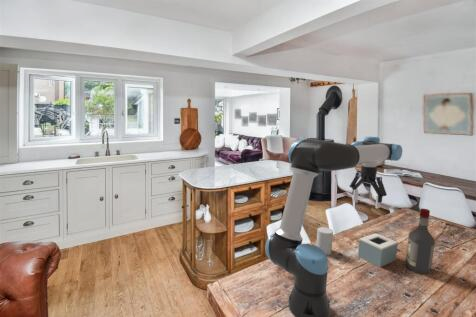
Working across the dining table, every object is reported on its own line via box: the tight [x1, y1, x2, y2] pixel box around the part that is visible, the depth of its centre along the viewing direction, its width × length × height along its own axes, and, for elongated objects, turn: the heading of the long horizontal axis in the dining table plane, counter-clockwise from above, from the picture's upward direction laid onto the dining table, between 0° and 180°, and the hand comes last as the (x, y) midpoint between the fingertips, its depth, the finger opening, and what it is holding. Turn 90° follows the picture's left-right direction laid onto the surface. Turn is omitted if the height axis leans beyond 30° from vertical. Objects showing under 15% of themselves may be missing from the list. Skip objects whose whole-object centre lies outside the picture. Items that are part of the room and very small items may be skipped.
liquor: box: [405, 208, 436, 275], centre depth 126 cm, size 9×9×30 cm
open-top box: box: [357, 232, 399, 268], centre depth 136 cm, size 14×12×10 cm
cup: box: [315, 226, 334, 256], centre depth 143 cm, size 8×8×12 cm
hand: (365, 204), depth 142 cm, fingers open, 13 cm apart
